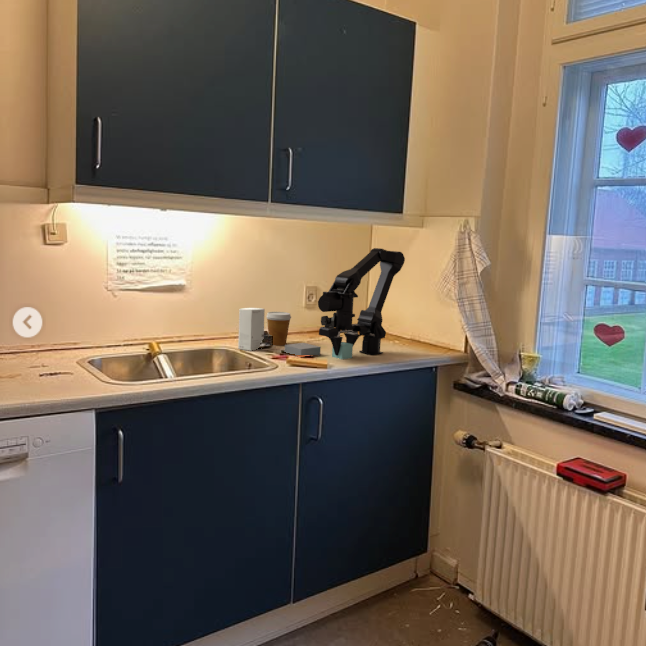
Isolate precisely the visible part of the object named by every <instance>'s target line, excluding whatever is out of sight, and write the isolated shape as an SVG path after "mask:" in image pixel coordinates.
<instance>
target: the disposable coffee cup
mask: <svg viewBox="0 0 646 646" xmlns="http://www.w3.org/2000/svg"><path fill="white" fill-rule="evenodd" d="M265 317H266V321H267V322H266V323H267V330H268V331H267V332H268V333H269V334H270V335H272V336H273V345H274V347H275V346H276V347H282V346H284V347H285V345H287V338H288V333H289V327H290V321H291V319H292V316H291V313H290V312H285V311H268V312H267V313H266V316H265ZM269 334H268V335H269ZM273 345H272V346H273Z"/></svg>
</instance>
